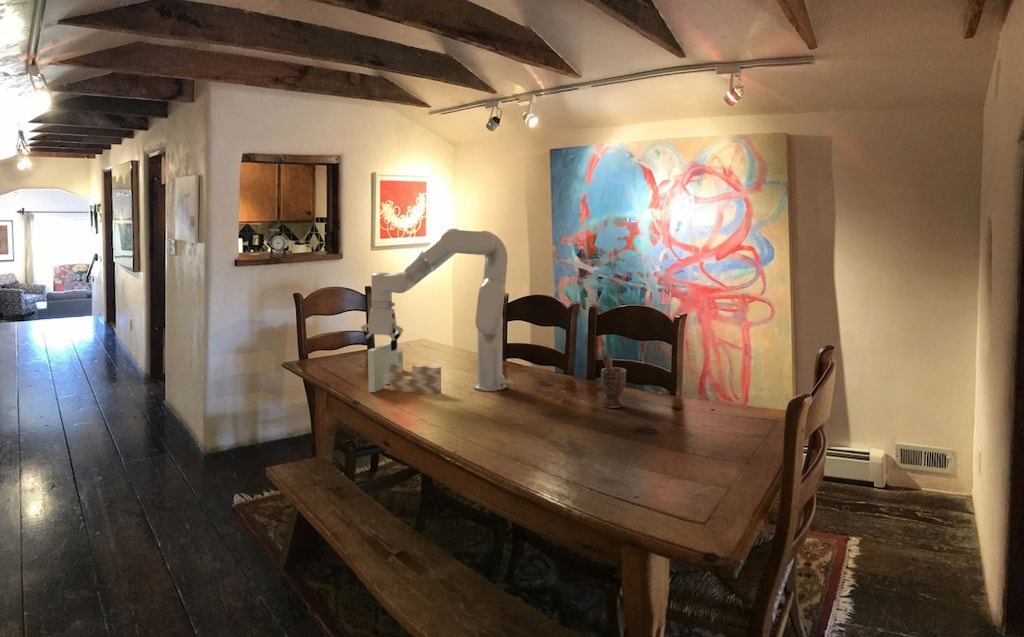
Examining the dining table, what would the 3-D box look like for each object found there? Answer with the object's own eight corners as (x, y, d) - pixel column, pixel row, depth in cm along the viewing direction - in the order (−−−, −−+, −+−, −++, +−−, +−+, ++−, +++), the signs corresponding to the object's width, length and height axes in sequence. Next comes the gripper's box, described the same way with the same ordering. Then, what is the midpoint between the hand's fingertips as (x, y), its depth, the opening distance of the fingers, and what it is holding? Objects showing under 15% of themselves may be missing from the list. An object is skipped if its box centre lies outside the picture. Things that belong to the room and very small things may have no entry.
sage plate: (392, 379, 268) (391, 340, 266) (398, 380, 268) (397, 341, 265) (368, 392, 249) (367, 350, 247) (374, 392, 249) (373, 350, 246)
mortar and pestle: (624, 413, 225) (626, 355, 222) (598, 411, 227) (600, 354, 224) (625, 403, 236) (627, 348, 233) (601, 402, 238) (602, 347, 235)
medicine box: (403, 370, 285) (402, 350, 284) (400, 372, 281) (400, 352, 280) (385, 369, 286) (384, 349, 285) (382, 371, 282) (381, 351, 280)
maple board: (441, 392, 249) (440, 366, 248) (438, 394, 247) (438, 368, 245) (392, 388, 255) (391, 363, 253) (389, 390, 252) (389, 364, 251)
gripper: (406, 305, 255) (406, 349, 258) (366, 302, 260) (366, 345, 262) (398, 307, 248) (398, 352, 250) (356, 305, 252) (357, 349, 255)
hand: (382, 349), depth 256 cm, fingers open, 9 cm apart
